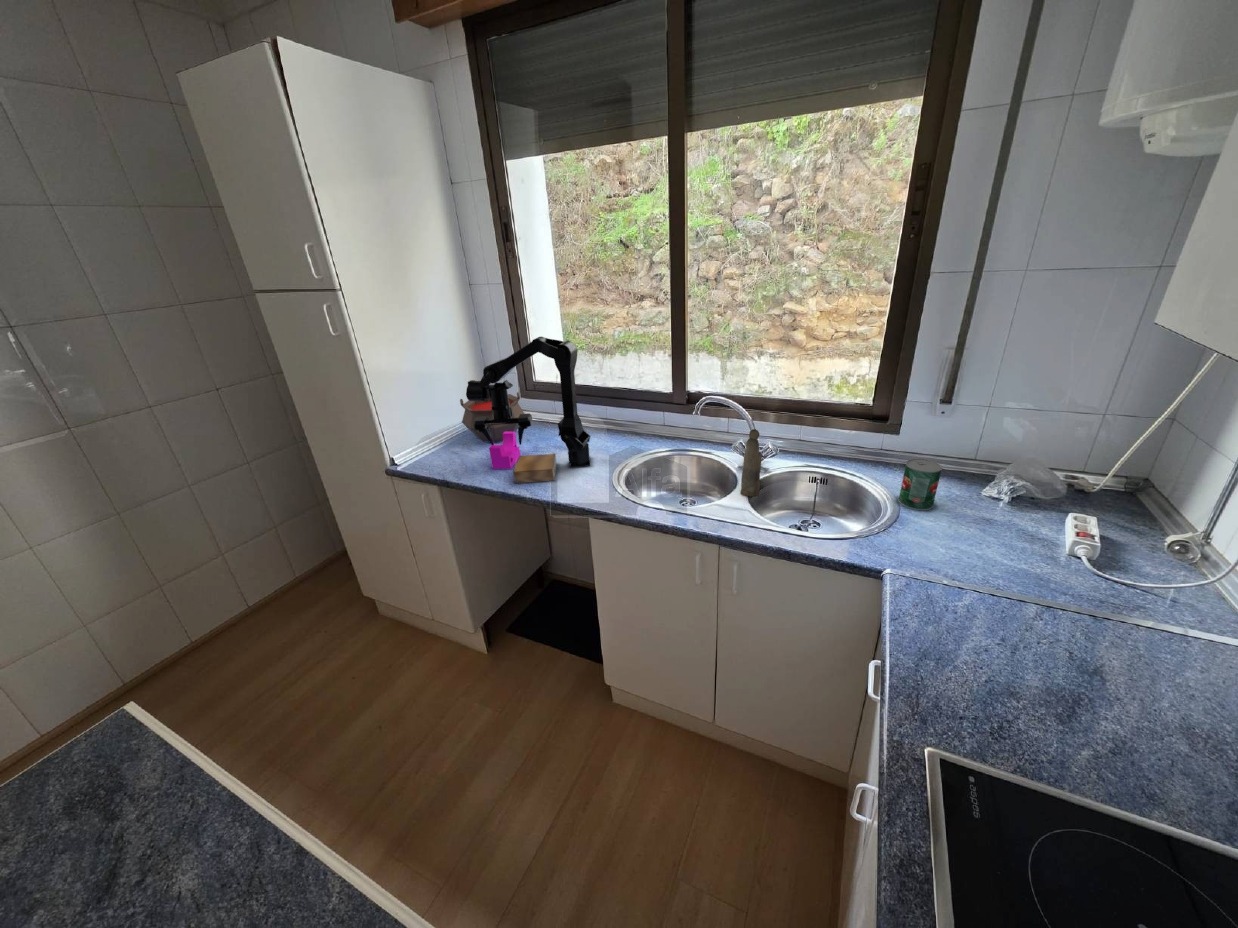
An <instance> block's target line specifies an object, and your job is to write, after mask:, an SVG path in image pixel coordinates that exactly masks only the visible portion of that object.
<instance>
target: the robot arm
mask: <svg viewBox="0 0 1238 928" xmlns="http://www.w3.org/2000/svg"><path fill="white" fill-rule="evenodd" d="M578 352H579V351H578V346H577V344H575V342H573V341H571V340H565V341H563V340H560V339H553V338H548V337H544V336H537V337H536V338H534V339H532V340H531V341H530V342H529V343H527V344H526V345H523V347H521V348H519V349H518V350H517V351H515V352H513V353H512V354H510V355H508V356H507V357H505V358H501V359H499V360H497V361H495V362H493V363H490V364H488V365H487V366H485V367H484V368H483V370H482V374H483V375H482V377H481V379H480V380H476V379H475V380H474V379H470V380H469V381H467V386H466V391H465V392H466V393H465V396H466V399H467V401H488V399H489V398H490V399H491V405H492V407H491V408H492V413H493V417H494V419H489V418H488V416H484V417H477V418H476V420H475V421H474V423H473V426H474V430H478V431H479V432H482V433H483V434H484V435H485V437H486V438H487V439H488V440H489V442H488V443H489V444H490V446H491V445H495V442H494V440H493V436H492V432H491V425H499V424H514V423H518V425H519V427H518V428H517V432H518V443H519V446H521V445H522V443H523V437H524V431H525V430H527V429H528V427H531V426H532V424H533V421H534V420H533V415H532V414H531V413H525V414H520V415H519V417H518V418H511V416H513V406H511V405H510V403H509V399H508V394H509V393H508V390H509V389H511V388H512V387H513V386H514V385H513V384H512V383H511V382H510V381H509V380H507V379H506V380H504V381H503V382H500V381H501V380H503V379H505V378H506V377H507V376H508V375H509V374H510V373H511V372H512V371H513V370H514V369H515V368H516V367H517V366H519V365H520V364H522V363H523V362H525V361H527V360H528V359H529V358H531V357H533V356H535V355H536V354H538V353H539V354H541V355H543V356H545V357H547V358H549V359H553V361H554V365H555V367H556V369H557V371H558V373H559V379H560V390H561V402H562V415H563V417H562V419H561V420H560V421H558V423H557V429H558V437H560V440H561V442H563V443H564V444H565V446H566V448H567V456H568V463H569V464H570V465H569V466H570V468H579V467H581V468H582V467H590V466H591V455H590V444H589V442H590V440H591V435H590V434H589V433H588V432H587V431H586V430H585V429H584V427H583V422H582V420H581V418H580V416H579V414H578V403H577V391H576V389H577V388H576V377H575V375H576V374H575V369H576V365H577V360H578Z"/></svg>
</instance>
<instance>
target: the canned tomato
mask: <svg viewBox="0 0 1238 928" xmlns="http://www.w3.org/2000/svg"><path fill="white" fill-rule="evenodd" d="M942 470H943V466H942V465H941V464H940V463H938V462H936V461H934V460H931V459H927V458H926V459H925V458H910V459H908V460H907V461H906V462H905V466H904V471H903V475H902V482H901V487H900V492H899V496H898V503H899V504H900V505H901V506H903V507H905V508H907V509H911V510H914V511H929V510H931V509H933V508H934V503H935V499H936V494H937V491H938V487H939V483H940V479H941V474H942Z"/></svg>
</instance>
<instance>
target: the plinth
mask: <svg viewBox="0 0 1238 928" xmlns="http://www.w3.org/2000/svg"><path fill="white" fill-rule="evenodd" d="M514 466H515V467H514V470H513V478H514V483H515V484H521V483H522V484H524V483H536V482H537V483H539V482H552V481H555V477H556V471H557V455H556V453H547V454H546V453H545V454H530V455H520V456H519V458H518V460H517V461H516V463H515V465H514Z"/></svg>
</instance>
